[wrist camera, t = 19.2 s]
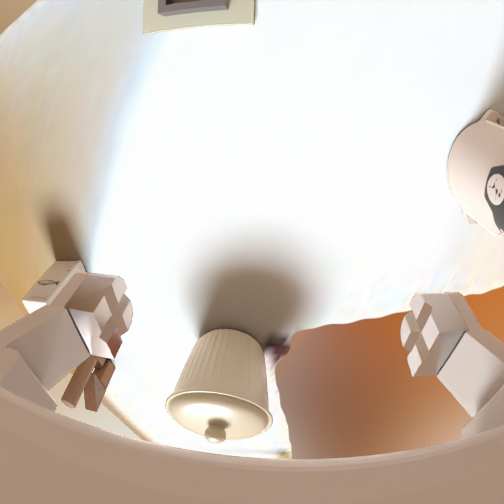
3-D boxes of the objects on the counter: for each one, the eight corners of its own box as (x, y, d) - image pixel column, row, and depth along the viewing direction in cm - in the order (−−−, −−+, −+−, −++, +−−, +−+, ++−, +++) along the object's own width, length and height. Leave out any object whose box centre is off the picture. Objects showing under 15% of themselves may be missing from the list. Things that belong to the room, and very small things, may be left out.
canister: (222, 379, 66) (207, 461, 48) (168, 332, 58) (136, 422, 41) (292, 357, 59) (291, 452, 42) (242, 300, 52) (224, 409, 34)
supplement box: (81, 258, 50) (46, 302, 40) (94, 290, 54) (65, 335, 44) (55, 259, 51) (20, 299, 41) (68, 288, 55) (38, 330, 45)
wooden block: (104, 366, 69) (80, 421, 54) (87, 339, 64) (57, 397, 49) (116, 368, 69) (92, 425, 54) (99, 340, 63) (69, 401, 48)
